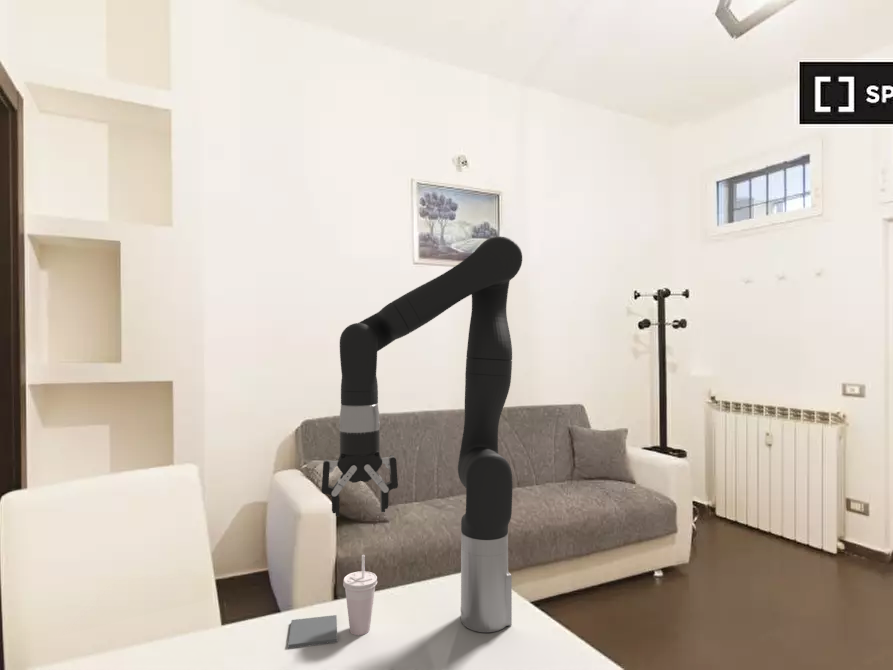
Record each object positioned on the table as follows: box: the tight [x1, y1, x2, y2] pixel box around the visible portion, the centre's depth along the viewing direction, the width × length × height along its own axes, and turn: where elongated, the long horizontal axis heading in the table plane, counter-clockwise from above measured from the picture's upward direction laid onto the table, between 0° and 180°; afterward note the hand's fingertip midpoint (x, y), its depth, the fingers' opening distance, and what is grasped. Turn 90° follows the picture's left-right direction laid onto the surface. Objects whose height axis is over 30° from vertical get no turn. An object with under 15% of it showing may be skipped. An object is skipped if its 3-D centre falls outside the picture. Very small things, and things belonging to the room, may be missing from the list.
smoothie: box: [342, 554, 378, 636], centre depth 97 cm, size 6×6×14 cm
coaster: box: [287, 614, 338, 649], centre depth 96 cm, size 8×8×1 cm
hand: (360, 513), depth 98 cm, fingers open, 8 cm apart
